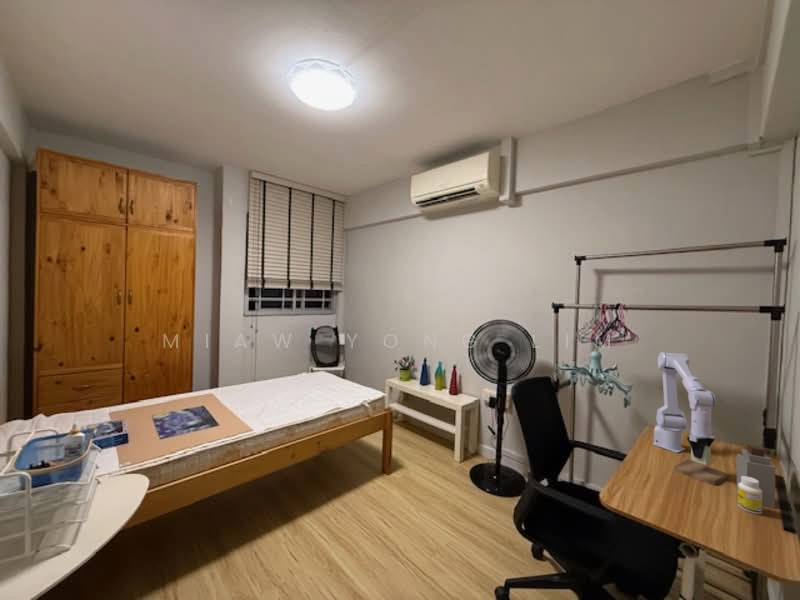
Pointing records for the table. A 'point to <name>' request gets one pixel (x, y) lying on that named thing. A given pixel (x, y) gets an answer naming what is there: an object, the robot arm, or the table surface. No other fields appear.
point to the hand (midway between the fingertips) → (700, 456)
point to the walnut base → (701, 472)
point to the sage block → (705, 458)
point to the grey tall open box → (758, 472)
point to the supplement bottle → (750, 495)
